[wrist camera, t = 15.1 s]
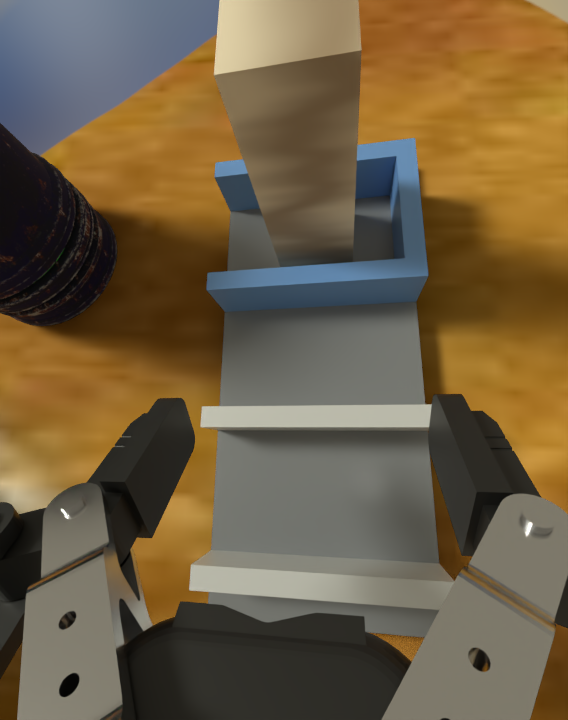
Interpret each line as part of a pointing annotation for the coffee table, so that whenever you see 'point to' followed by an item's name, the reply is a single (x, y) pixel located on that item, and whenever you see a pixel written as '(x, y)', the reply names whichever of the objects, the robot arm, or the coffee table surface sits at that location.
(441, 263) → the coffee table surface
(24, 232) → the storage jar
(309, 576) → the grey slotted base
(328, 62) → the peg
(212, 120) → the coffee table surface
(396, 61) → the coffee table surface
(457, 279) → the coffee table surface
